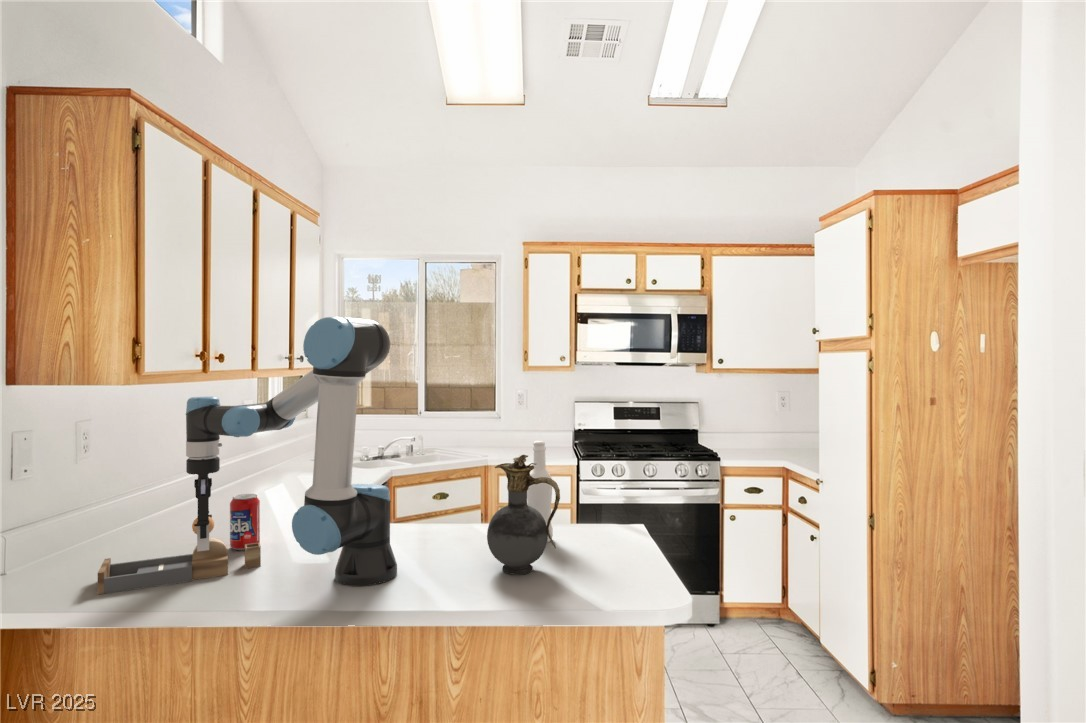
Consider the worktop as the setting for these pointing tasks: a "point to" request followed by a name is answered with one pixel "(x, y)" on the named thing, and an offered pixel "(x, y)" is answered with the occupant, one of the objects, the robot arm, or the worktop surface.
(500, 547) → the pitcher
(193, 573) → the tan rounded block
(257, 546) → the hollow wooden sleeve
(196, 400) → the robot arm
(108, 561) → the backstop
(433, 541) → the worktop surface
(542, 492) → the bottle
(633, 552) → the worktop surface
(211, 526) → the ball
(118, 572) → the tray
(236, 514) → the soda can
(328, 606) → the worktop surface
